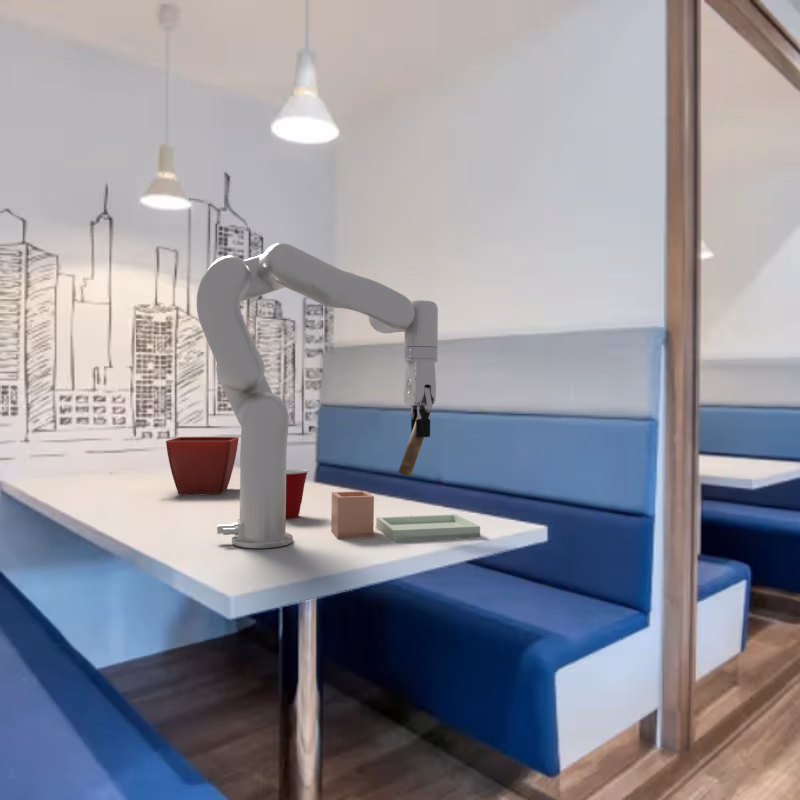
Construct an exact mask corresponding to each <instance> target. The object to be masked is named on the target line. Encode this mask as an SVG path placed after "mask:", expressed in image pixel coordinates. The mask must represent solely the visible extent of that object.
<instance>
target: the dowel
mask: <svg viewBox="0 0 800 800" xmlns="http://www.w3.org/2000/svg"><path fill="white" fill-rule="evenodd" d="M416 419H418V417H417V418H416ZM424 438H425V437H416V421H415V424H414V427H413V430H412V433H411V432H410V437H409V439H408V441H407V445H406V449H405V451H404V454H403V457H402V459H401V462H400V465H399V468H398V470H397V471H398V472H397V473H398V474H401V475H404V476H406V477H409V478H410V477H411V476H412V474H413V470H414V468H415V465H416V462H417V458H418V456H419V453H420V450H421V447H422V444H423V441H424Z"/></svg>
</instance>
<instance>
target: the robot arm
mask: <svg viewBox="0 0 800 800" xmlns="http://www.w3.org/2000/svg"><path fill="white" fill-rule="evenodd" d="M283 288H284V289H285V288H287V289H289V290H290V291H292V292H295V293H298V294H300V295H301V296H304V297H307V299H310V300H312V301H313V302H316V303H318V304H320V305H323V306H325V307H329V308H335V309H344V310H351V311H355V312H358V313H360V314H362V315H366V316H367V317H368V322H369V324H370V326H371V327H372V328H373V330H375V331H376V332H379V333H381V334H392V333H393V334H394V333H404V363H406V366H405V371H404V373H405V374H404V388H403V390H404V392H403V402H404V404H405V405H407V406H409V407H410V423H411V424H410V434H411V433H412V430H413V427H414V424H415V421H416V437H424V438H430V437H431V411H432V409H433V405H434V404H435V403H436V398H437V397H436V396H437V395H436V394H437V383H436V382H437V380H436V366H435V363H438V353H439V352H438V345H439V344H438V340H439V339H438V335H439V334H438V333H439V331H438V329H439V327H438V326H439V325H438V324H439V320H438V319H439V317H438V315H439V310H438V309H439V308H438V304H437V303H435V302H434V301H431V300H422V299H421V300H419V299H418V300H410V298H408V297H407V296H406V295H404V294H403V293H401V292H398V291H396V290H394V289H393V288H390V287H389V286H386V285H384V284H382V283H380V282H377V281H375V280H373V279H370V278H367V277H364V276H360V275H358V274H354V273H352V272H350V271H346V270H343V269H340V268H338V267H336V266H333V265H331V264H330V263H328V262H326V261H324V260H321V259H320V258H318V257H317V256H314V255H312V254H310V253H307V252H306V251H304V250H301V249H300V248H298V247H296V246H293V245H292V244H288V243H285V242H278V243H274V244H272V245H270V246H269V247H268V248H267V249H266V250H265V251H264V253H262V254H260V255H256V256H255V257H250V258H248V259H244V260H242V258H239V257H237V256H234V255H226V256H222V257H220V258H218V259H215V261H214V262H212V264H211V265H210V266H209V267H208V268H207V270H206V272H205V273H204V274H203V276H202V278H201V280H200V282H199V285H198V289H197V291H196V292H197V294H196V312H197V317H198V321H199V324H200V326H201V329H202V332H203V334H204V337H205V339H206V341H207V345H208V347H209V350H210V351H211V353H212V355H213V357H214V359H215V362H216V367H215V368H216V376H217V378H218V381H219V384H220V385H221V388H222V391H223V392H224V395H225V396H226V399H227V400H228V402H229V405H230V406H231V409H232V411H233V414H234V416H235V418H236V419H237V422H238V423H239V424H240V427H241V431H240V432H241V433H240V450H239V451H240V457H239V518H238V519H237V521H236V522H232V524H225V523H224V524H223V523H222V524H217V526H216V533H217V535H221V534H222V535H223V536H226V535H227V536H228V535H233V536H231V544H232V545H233V546H236V547H239V548H245V549H273V548H279V547H284V546H287V545H289V544H292V543H293V541H294V535H292V533H290V532H286V522H287V521H286V520H287V519H286V470H287V448H288V435H289V434H288V433H289V425H290V424H289V423H290V420H289V419H290V418H289V410H288V408H287V405H286V403H285V402H284V401H283V399H282V398H281V397H279V396H278V395H277V394H274V393H273V391H272V389H271V386H270V385H269V382H268V379H267V378H266V376H265V371H266V370H265V364H264V360H263V357H262V356H261V354H260V353H259V351H258V348H257V347H256V345H255V342H254V340H253V338H252V336H251V334H250V332H249V330H248V327H247V324H246V322H245V320H244V317H243V314H242V309H241V302H244V301H246V300H251V299H254V298H257V297H260V296H263V295H267V294H270V293H273V292H275V291H279V290H281V289H283ZM417 417H418V419H416V418H417Z"/></svg>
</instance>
